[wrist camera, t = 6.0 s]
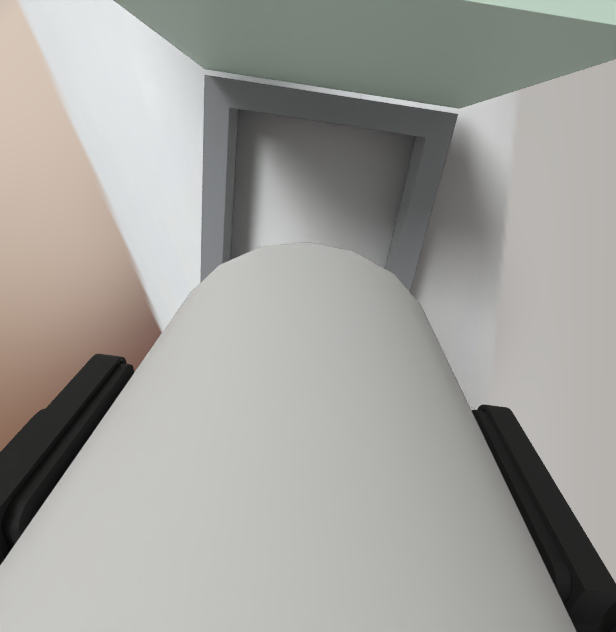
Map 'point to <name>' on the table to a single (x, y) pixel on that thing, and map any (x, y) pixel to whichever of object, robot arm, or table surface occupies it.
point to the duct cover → (391, 42)
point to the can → (285, 476)
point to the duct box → (237, 94)
